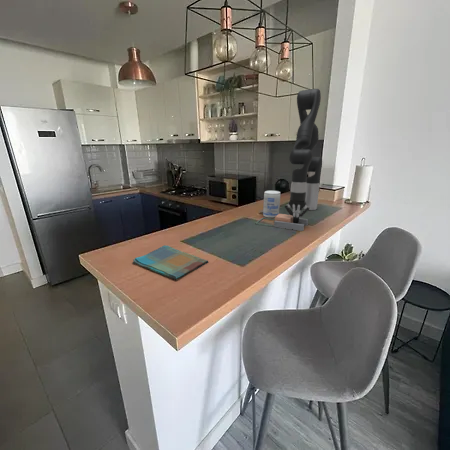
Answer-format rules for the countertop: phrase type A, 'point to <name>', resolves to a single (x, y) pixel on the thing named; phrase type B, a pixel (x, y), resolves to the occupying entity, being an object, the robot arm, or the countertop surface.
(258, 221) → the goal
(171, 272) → the dish towel
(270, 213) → the supplement tub
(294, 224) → the chute
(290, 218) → the block
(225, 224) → the countertop surface
